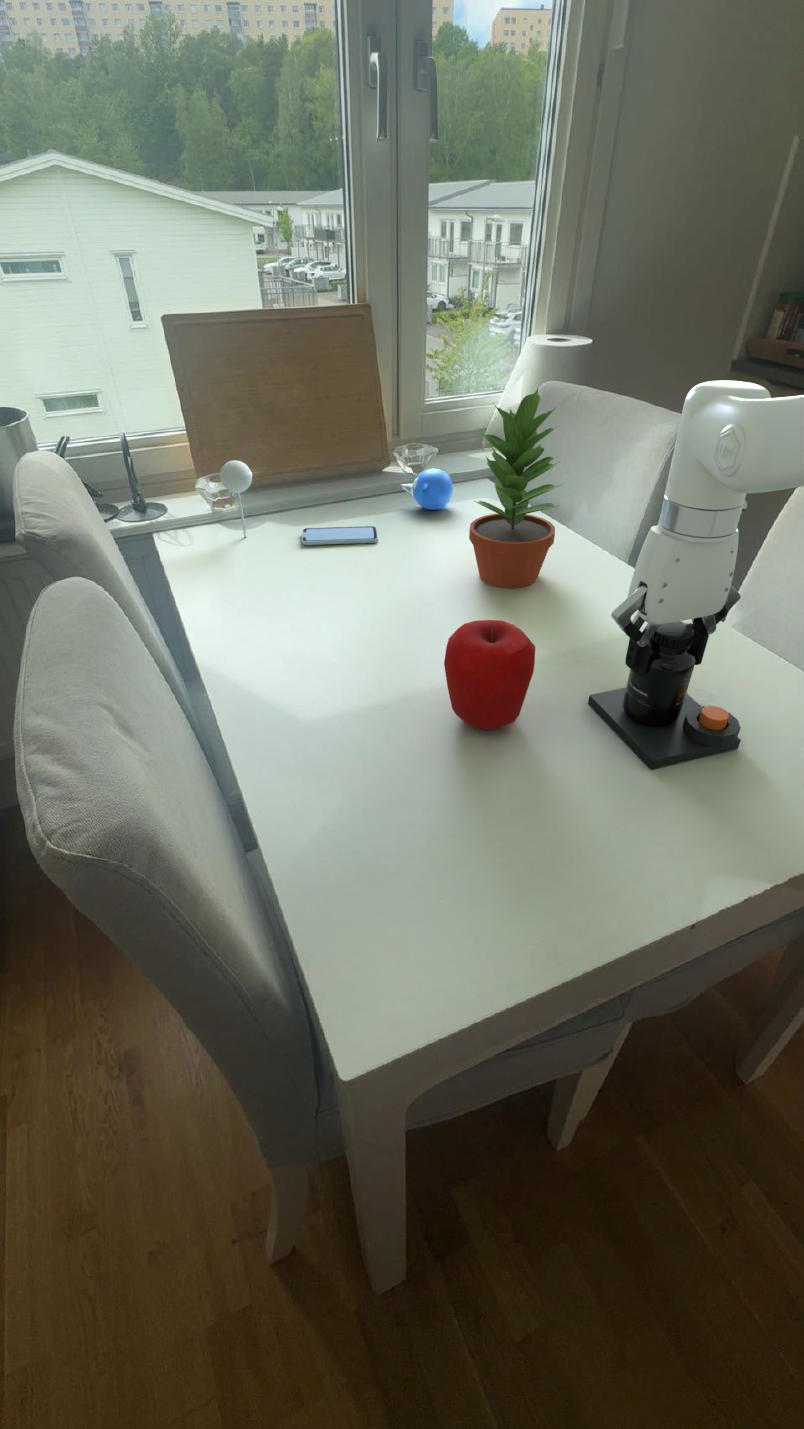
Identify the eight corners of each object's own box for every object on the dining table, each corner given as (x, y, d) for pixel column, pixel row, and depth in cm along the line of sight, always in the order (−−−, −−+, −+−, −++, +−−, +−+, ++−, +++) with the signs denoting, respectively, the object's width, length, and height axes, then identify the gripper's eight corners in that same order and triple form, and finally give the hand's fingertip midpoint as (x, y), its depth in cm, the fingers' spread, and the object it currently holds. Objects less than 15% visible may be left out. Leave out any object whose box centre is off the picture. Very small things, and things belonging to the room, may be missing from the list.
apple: (428, 726, 85) (429, 631, 77) (468, 688, 92) (473, 597, 84) (504, 755, 80) (514, 657, 72) (540, 713, 87) (553, 618, 79)
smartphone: (378, 539, 133) (301, 541, 132) (378, 543, 134) (301, 546, 133) (376, 525, 139) (302, 528, 138) (376, 529, 140) (303, 532, 139)
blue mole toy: (408, 496, 156) (407, 459, 151) (458, 501, 153) (459, 463, 148) (391, 514, 147) (390, 474, 142) (444, 519, 144) (444, 479, 139)
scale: (743, 750, 80) (751, 730, 78) (653, 772, 77) (658, 752, 75) (669, 686, 91) (674, 667, 90) (587, 703, 88) (590, 684, 87)
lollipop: (224, 541, 136) (211, 464, 127) (238, 530, 140) (226, 455, 131) (252, 544, 134) (241, 466, 125) (265, 533, 139) (255, 457, 130)
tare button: (731, 728, 79) (735, 717, 79) (709, 733, 79) (713, 722, 78) (714, 714, 82) (717, 703, 81) (693, 718, 81) (696, 708, 80)
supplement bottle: (615, 719, 83) (634, 633, 76) (628, 691, 88) (646, 608, 81) (674, 735, 80) (698, 647, 73) (684, 705, 85) (707, 620, 78)
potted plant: (457, 589, 116) (464, 400, 99) (478, 555, 128) (487, 381, 110) (544, 600, 112) (567, 406, 95) (557, 565, 124) (580, 385, 106)
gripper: (744, 495, 74) (704, 638, 85) (604, 514, 70) (580, 661, 81) (795, 518, 69) (745, 668, 79) (647, 540, 64) (615, 695, 75)
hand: (662, 663), depth 80 cm, fingers closed on supplement bottle, 6 cm apart
